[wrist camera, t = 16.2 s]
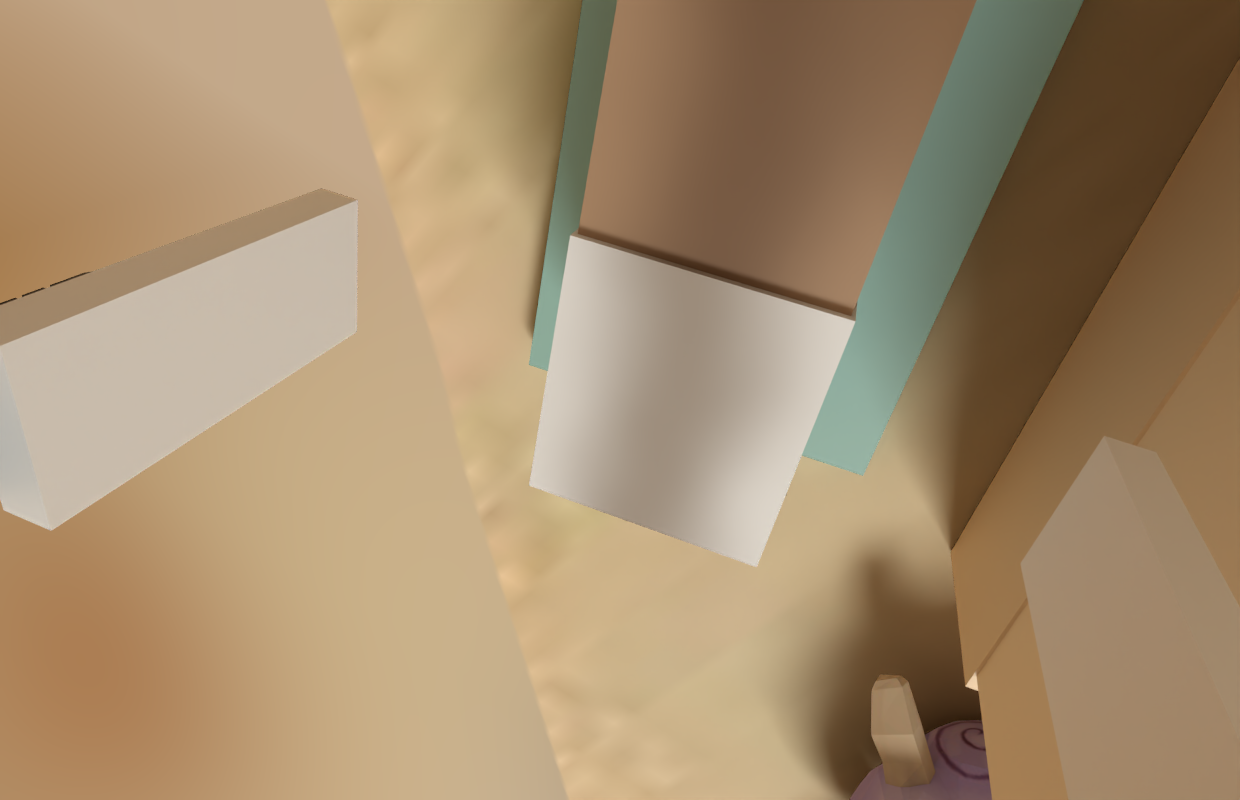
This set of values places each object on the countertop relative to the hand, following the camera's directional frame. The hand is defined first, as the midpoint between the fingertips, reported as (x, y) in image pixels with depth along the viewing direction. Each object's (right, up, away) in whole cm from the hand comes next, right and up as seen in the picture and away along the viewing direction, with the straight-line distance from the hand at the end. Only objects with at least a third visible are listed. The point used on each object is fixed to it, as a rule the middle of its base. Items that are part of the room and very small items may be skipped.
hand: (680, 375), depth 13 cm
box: (+3, +7, +7) cm, 11 cm away
